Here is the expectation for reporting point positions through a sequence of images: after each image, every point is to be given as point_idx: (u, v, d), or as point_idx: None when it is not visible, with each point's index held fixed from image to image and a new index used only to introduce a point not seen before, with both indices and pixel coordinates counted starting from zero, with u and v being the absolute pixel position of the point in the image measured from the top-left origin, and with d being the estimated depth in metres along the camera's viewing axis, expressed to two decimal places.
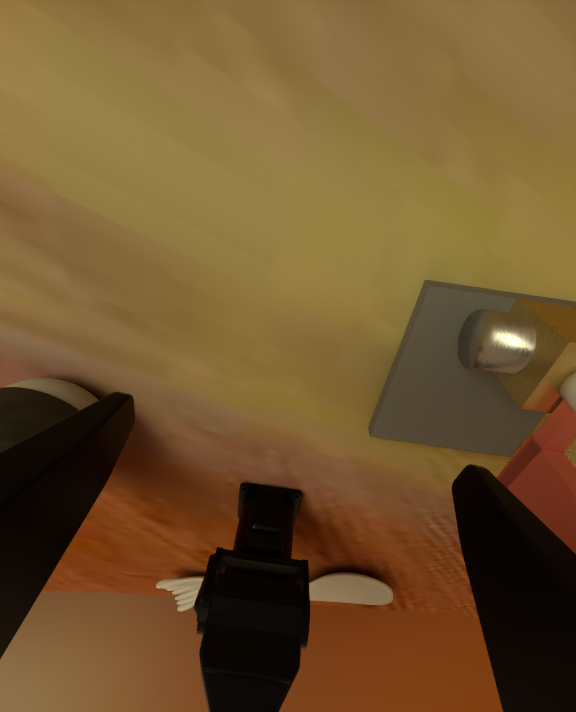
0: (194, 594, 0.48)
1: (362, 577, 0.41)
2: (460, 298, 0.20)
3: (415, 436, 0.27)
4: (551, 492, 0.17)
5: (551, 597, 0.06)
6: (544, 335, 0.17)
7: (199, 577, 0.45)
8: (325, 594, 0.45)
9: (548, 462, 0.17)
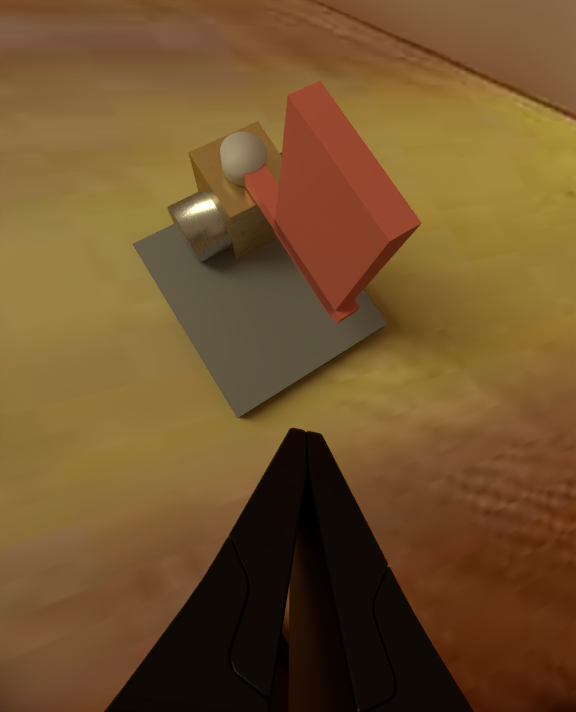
0: None
1: None
2: (164, 236, 0.22)
3: (279, 377, 0.21)
4: (290, 213, 0.14)
5: (316, 554, 0.06)
6: (198, 180, 0.19)
7: None
8: None
9: (277, 212, 0.15)
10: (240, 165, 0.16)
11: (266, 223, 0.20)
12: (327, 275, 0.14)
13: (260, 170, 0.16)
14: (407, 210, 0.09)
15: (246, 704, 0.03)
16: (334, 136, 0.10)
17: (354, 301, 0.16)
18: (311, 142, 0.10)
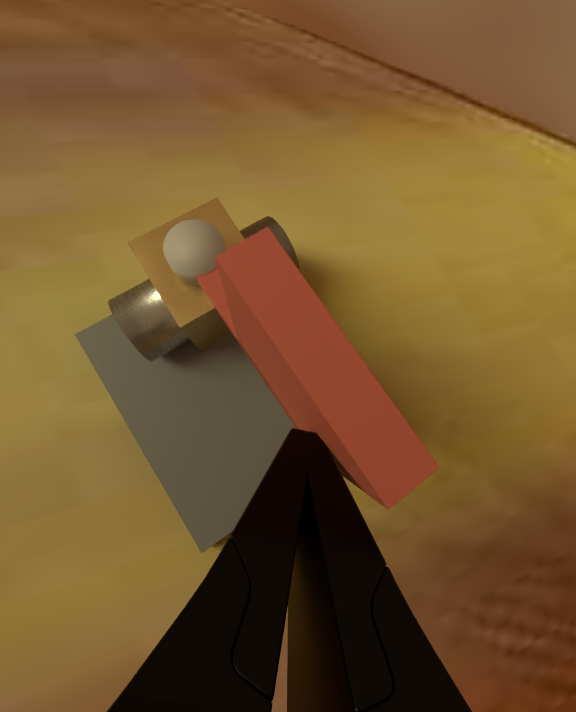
0: None
1: None
2: (114, 322, 0.18)
3: None
4: (251, 350, 0.10)
5: (314, 554, 0.06)
6: None
7: None
8: None
9: (238, 335, 0.12)
10: (189, 264, 0.13)
11: None
12: None
13: (216, 270, 0.13)
14: (415, 446, 0.06)
15: (248, 705, 0.03)
16: (292, 323, 0.06)
17: None
18: (258, 325, 0.06)
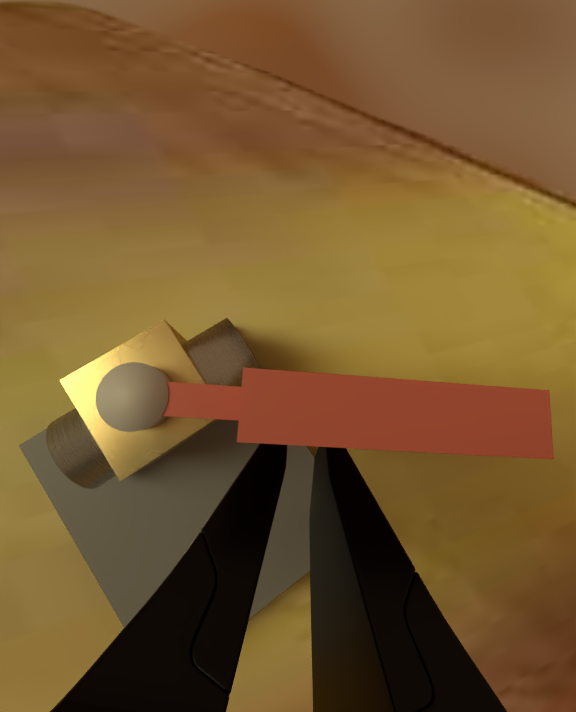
0: None
1: None
2: None
3: None
4: None
5: (342, 559, 0.06)
6: None
7: None
8: None
9: None
10: (146, 412, 0.11)
11: (189, 437, 0.14)
12: None
13: (171, 393, 0.11)
14: (522, 396, 0.06)
15: (204, 698, 0.03)
16: (351, 417, 0.05)
17: None
18: (322, 444, 0.06)
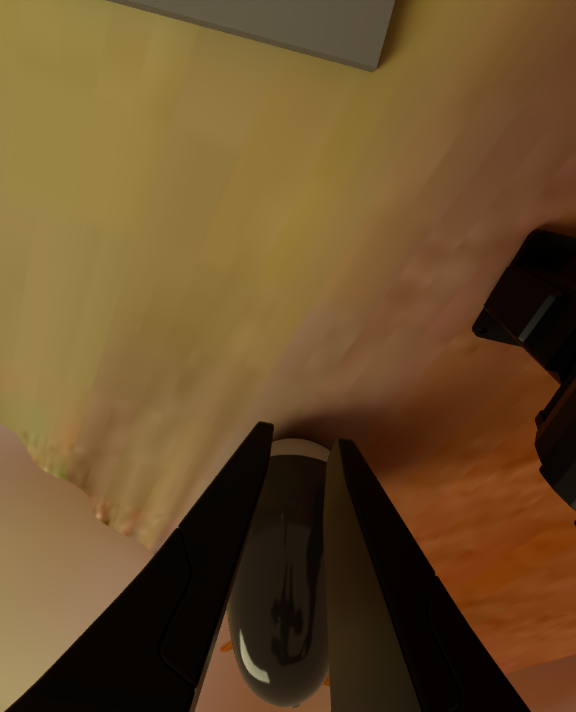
0: None
1: None
2: None
3: None
4: None
5: (361, 562, 0.06)
6: None
7: None
8: None
9: None
10: None
11: None
12: None
13: None
14: None
15: (169, 692, 0.03)
16: None
17: None
18: None
